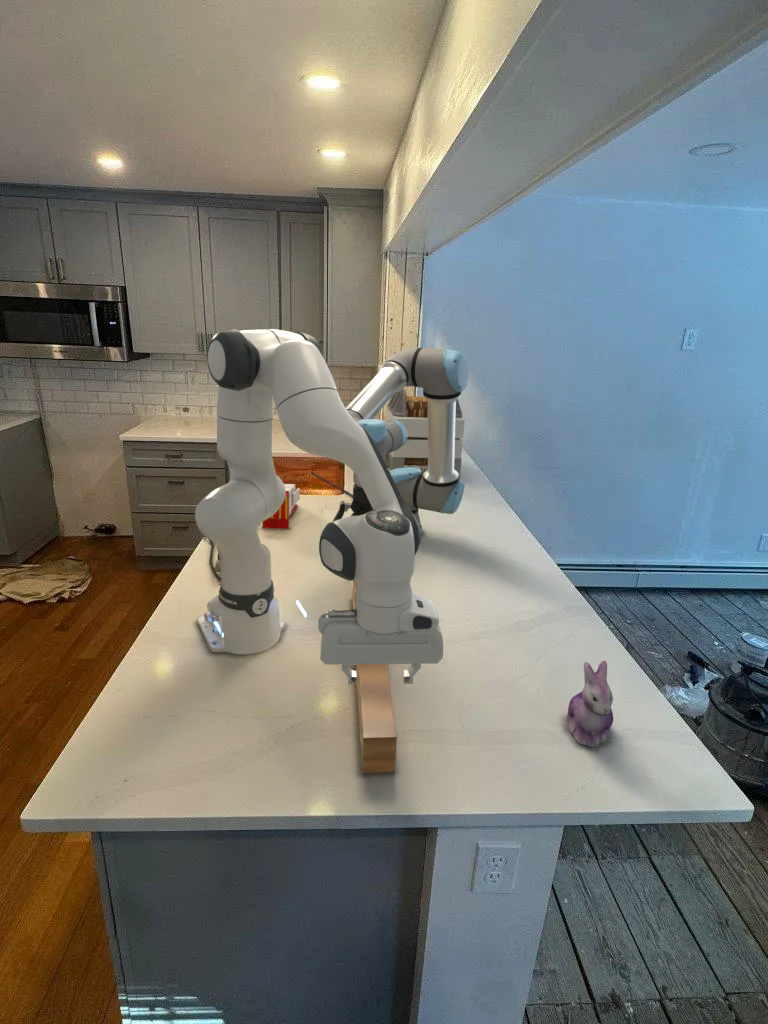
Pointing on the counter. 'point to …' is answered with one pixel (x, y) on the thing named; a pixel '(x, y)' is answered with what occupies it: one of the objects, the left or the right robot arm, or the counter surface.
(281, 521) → the toy
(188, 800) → the counter surface
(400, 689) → the counter surface
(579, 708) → the figurine
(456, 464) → the slatted wooden crate
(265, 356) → the left robot arm
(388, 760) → the bar
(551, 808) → the counter surface
